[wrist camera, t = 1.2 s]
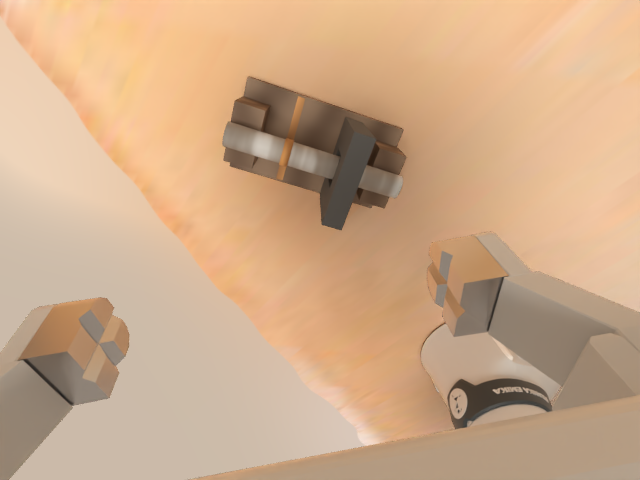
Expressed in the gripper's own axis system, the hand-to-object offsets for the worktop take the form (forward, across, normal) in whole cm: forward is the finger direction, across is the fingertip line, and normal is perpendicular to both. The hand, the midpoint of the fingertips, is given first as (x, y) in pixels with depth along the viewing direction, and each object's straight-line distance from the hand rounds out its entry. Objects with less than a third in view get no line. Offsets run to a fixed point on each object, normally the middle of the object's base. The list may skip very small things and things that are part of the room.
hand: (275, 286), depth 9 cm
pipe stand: (+33, +4, -9) cm, 34 cm away
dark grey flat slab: (+30, +6, -10) cm, 32 cm away
